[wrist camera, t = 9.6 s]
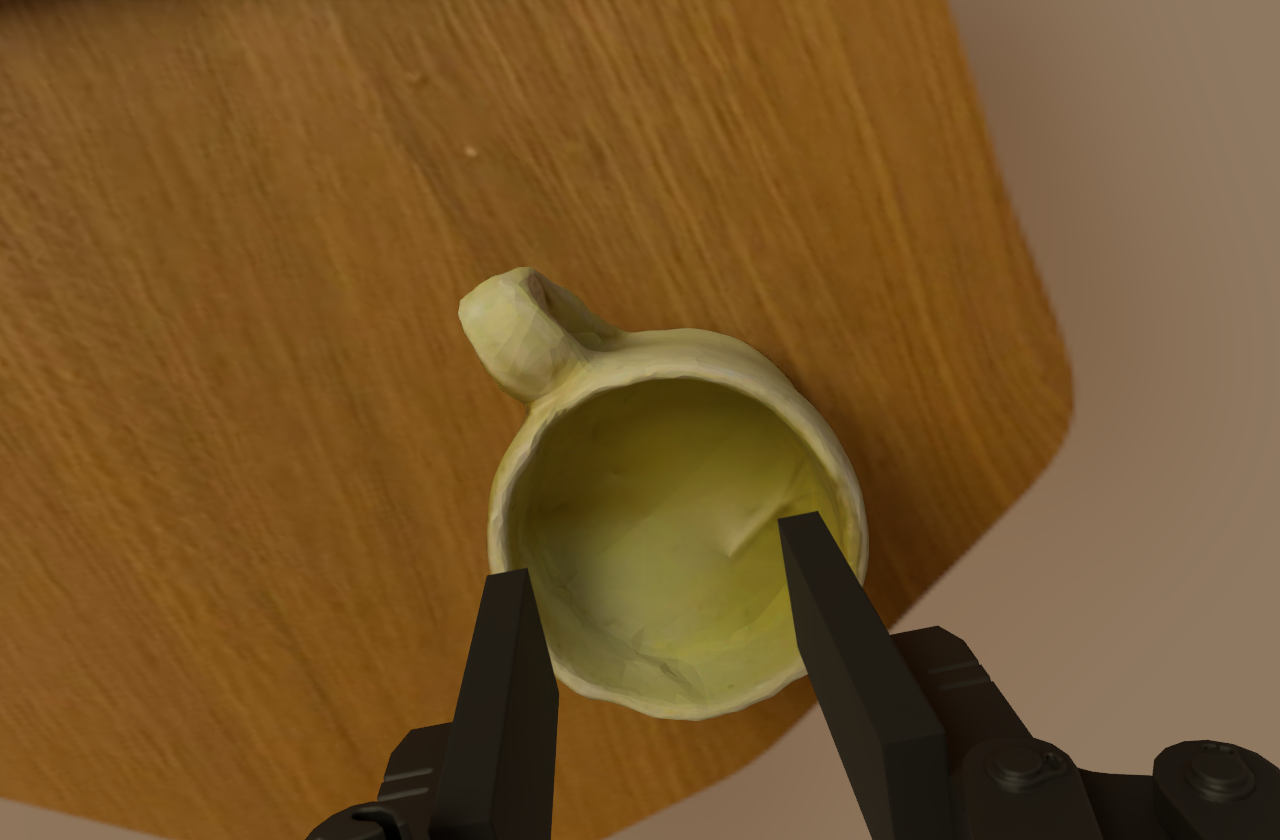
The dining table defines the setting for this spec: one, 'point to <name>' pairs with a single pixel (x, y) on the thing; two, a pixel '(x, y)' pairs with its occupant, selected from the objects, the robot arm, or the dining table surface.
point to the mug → (654, 499)
